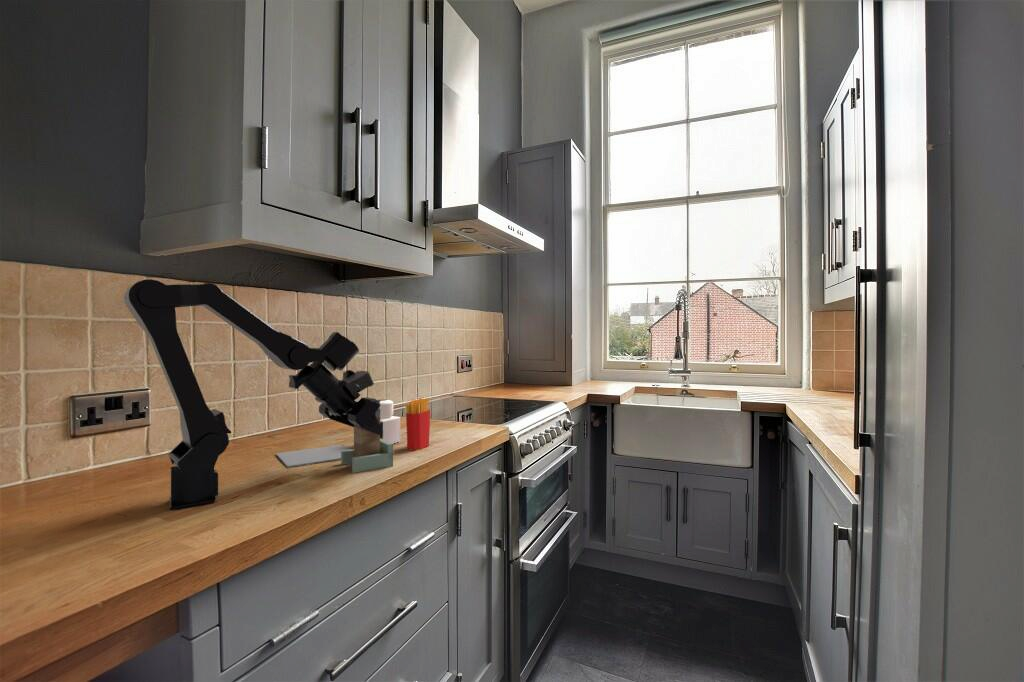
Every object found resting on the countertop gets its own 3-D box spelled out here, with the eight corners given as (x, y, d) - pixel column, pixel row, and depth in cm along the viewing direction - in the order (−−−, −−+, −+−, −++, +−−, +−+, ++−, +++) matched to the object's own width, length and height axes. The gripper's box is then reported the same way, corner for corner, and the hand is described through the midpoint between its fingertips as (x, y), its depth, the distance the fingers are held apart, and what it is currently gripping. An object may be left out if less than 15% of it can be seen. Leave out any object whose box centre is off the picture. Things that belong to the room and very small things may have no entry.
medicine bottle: (362, 444, 125) (363, 400, 125) (381, 439, 132) (381, 397, 132) (382, 447, 122) (382, 402, 122) (400, 442, 128) (400, 399, 128)
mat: (287, 467, 102) (287, 466, 102) (275, 455, 114) (275, 453, 114) (359, 457, 112) (359, 455, 112) (341, 446, 123) (341, 444, 123)
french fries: (420, 442, 128) (420, 396, 128) (433, 444, 126) (433, 397, 126) (401, 450, 119) (401, 400, 119) (415, 451, 117) (415, 401, 117)
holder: (353, 472, 99) (353, 449, 99) (341, 463, 106) (341, 442, 106) (392, 466, 104) (393, 444, 104) (378, 457, 111) (378, 437, 111)
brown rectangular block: (360, 468, 102) (360, 410, 102) (353, 464, 106) (353, 408, 105) (380, 465, 105) (380, 408, 105) (372, 461, 108) (373, 406, 108)
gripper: (372, 360, 96) (416, 407, 104) (331, 357, 109) (374, 400, 117) (335, 402, 90) (385, 448, 98) (297, 393, 103) (344, 435, 111)
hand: (372, 430), depth 106 cm, fingers open, 8 cm apart
